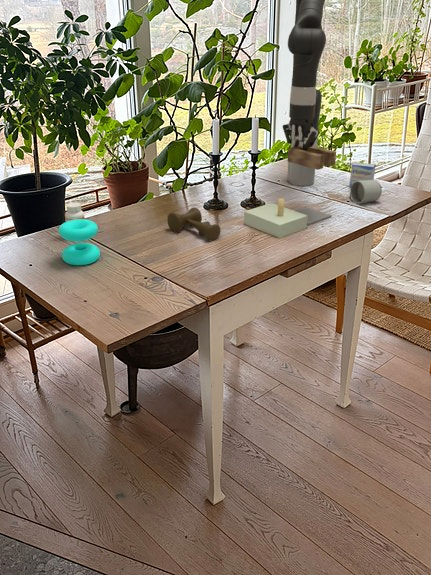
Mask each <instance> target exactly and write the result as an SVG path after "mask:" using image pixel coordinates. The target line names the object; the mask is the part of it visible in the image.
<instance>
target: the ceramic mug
mask: <svg viewBox="0 0 431 575" xmlns="http://www.w3.org/2000/svg"><path fill="white" fill-rule="evenodd" d="M382 190H383V189H382V185H381V183H380V182H379V181H377V180H375V179H374V180H362V181H355V182H354V183H353V184H352V186H351V188H350V191H349V197H351V200H352V201H353V203H355V204H357V205H361V204H366V203H371V202H376V201H377V200H379V199H380V197H381V196H382Z"/></svg>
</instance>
